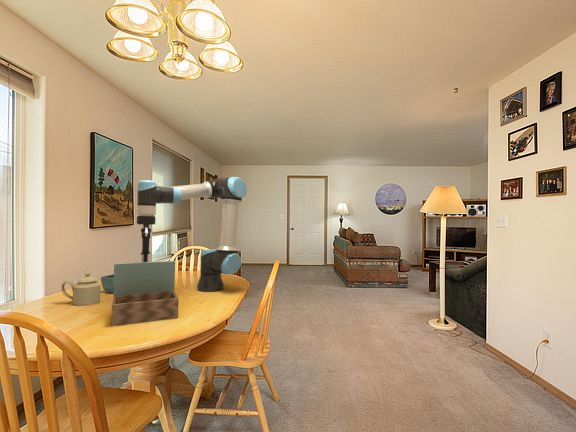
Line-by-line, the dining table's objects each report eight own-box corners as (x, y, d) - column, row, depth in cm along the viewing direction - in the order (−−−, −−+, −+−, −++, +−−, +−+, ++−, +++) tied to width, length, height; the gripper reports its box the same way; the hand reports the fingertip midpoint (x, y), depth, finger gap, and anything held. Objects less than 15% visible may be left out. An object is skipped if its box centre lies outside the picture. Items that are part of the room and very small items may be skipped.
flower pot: (99, 293, 164) (100, 276, 164) (113, 289, 173) (113, 273, 173) (112, 295, 162) (113, 278, 162) (126, 291, 170) (126, 275, 170)
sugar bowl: (65, 309, 136) (66, 275, 137) (60, 303, 144) (61, 271, 144) (103, 302, 147) (103, 271, 147) (96, 298, 155) (97, 268, 155)
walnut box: (173, 308, 140) (174, 291, 140) (178, 317, 127) (178, 298, 127) (113, 315, 129) (113, 296, 129) (111, 326, 116) (111, 305, 116)
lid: (174, 291, 140) (173, 290, 141) (175, 261, 138) (175, 260, 139) (113, 296, 129) (113, 295, 130) (114, 264, 127) (114, 263, 128)
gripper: (136, 215, 140) (135, 267, 140) (137, 215, 128) (135, 271, 128) (154, 215, 143) (153, 266, 143) (156, 215, 132) (155, 270, 131)
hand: (145, 268), depth 136 cm, fingers closed
